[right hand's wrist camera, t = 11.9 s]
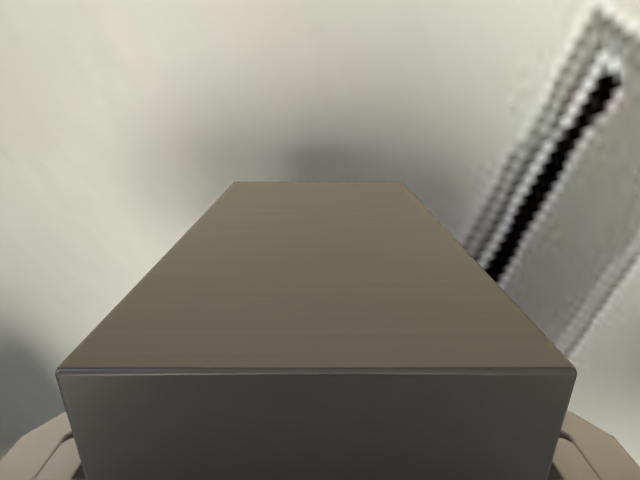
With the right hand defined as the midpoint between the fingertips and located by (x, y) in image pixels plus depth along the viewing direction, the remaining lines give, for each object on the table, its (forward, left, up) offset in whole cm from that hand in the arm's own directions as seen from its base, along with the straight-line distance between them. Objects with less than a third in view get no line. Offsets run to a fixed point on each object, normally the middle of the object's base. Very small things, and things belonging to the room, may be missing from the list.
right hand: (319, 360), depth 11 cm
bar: (+2, +8, -4) cm, 9 cm away
